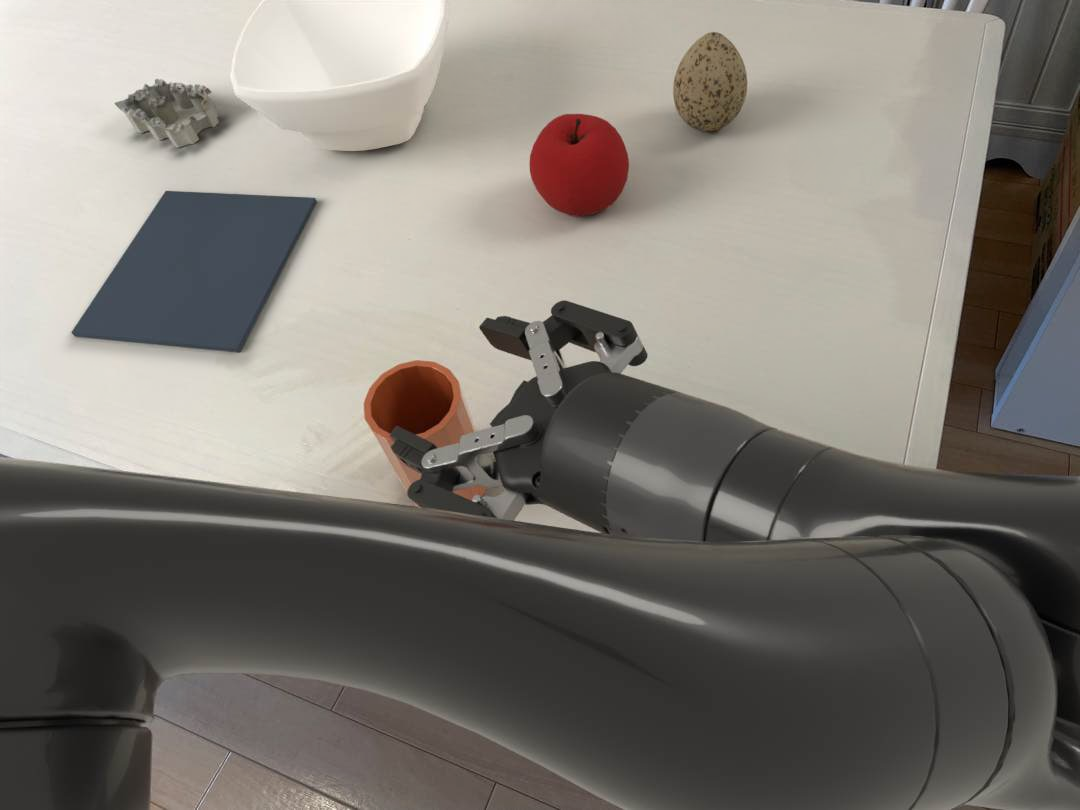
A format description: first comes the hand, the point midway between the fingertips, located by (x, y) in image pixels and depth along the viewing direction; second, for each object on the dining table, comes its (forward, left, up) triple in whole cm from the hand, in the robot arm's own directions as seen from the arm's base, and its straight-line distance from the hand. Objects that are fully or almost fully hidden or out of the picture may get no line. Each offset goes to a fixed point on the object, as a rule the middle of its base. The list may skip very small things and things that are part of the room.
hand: (445, 384), depth 47 cm
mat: (+22, +36, -16) cm, 45 cm away
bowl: (+45, +25, -16) cm, 54 cm away
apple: (+34, -1, -16) cm, 37 cm away
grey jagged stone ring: (+44, +50, -16) cm, 68 cm away
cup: (+2, +4, -16) cm, 16 cm away
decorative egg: (+46, -12, -16) cm, 50 cm away
